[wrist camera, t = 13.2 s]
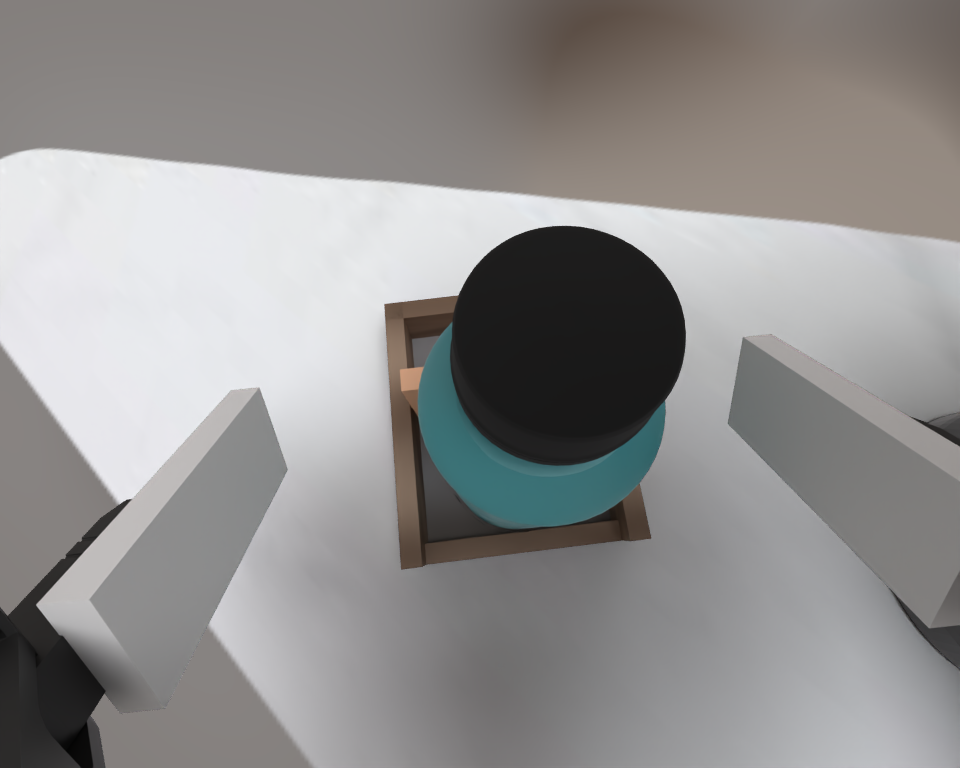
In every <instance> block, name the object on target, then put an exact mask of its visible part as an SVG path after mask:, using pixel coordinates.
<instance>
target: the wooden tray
mask: <svg viewBox="0 0 960 768" xmlns="http://www.w3.org/2000/svg"><path fill="white" fill-rule="evenodd" d="M457 299H458V296H450V297H442V298H433V299H425V300H416V301H407V302H399V303H390V304H384V305H385V321H386V336H387V352H388V368H389V384H390V400H391V416H392V431H393V447H394V463H395V479H396V495H397V511H398V526H399V542H400V558H401V569H409V568H417V567H423V566H425V565H427V564H435V563H443V562H451V561H459V560H467V559H475V558H483V557H491V556H500V555H508V554H516V553H524V552H532V551H540V550H548V549H556V548H564V547H572V546H580V545H589V544H597V543H605V542H613V541H621V540H624V541H636V540H644V539H651V535H650V530H649V526H648V521H647V516H646V512H645V507H644V502H643V498H642V493H641V488H640V484H638V485H637V486H636V487H635V488H634V489H633V490H632V492H631V493H630V494H629V495H628V496H626V497H625V498H624V499H623V500H621V501H620V502H619V503H618V504H616V505H615V506H613V507H612V508H610V509H608V510H607V511H605V512H603V513H601V514H599V515H597V516H594V517H592V518H590V519H587V520H584V521H580V522H578V523H574V524H573V525H572V524H570V525H563V526H554V527H546V528H545V527H536V528H537V529H536V528H524V529H507V528H501V527H497V526H494V525H492V524H489V523H488V522H486V521H484V520H482V519H481V518H479V517H478V516H477V515H476V514H474V513H473V512H472V511H471V510H470V508H469V507H468V506H467V505H466V504H465V502H464V501H463V500H462V499H461V498H460V496H459V495H458V494H457V492H456V491H455V490H454V489H453V488H452V487H451V486H450V485H449V484H448V482H447V481H446V480H445V479H444V477H443V476H442V475H441V474H440V472H439V471H438V469H437V467H436V466H435V464H434V463H433V461H432V459H431V457H430V455H429V453H428V450H427V448H426V446H425V443H424V440H423V437H422V433H421V430H420V424H419V418H418V416H417V414H416V413H415V411H414V410H413V408H412V407H411V405H410V404H409V402H408V401H407V399H406V398H405V396H404V394H403V393H402V391H401V379H400V369H409V368H417V367H424V365H425V362H426V359H427V357H428V355H429V353H430V352H431V350H432V348H433V346H434V344H435V343H436V341H437V340H438V338H439V337H440V335H441V334H442V333H443V332H444V330H445V329H446V328H447V327H448V326H449V325H450V324H451V323H452V319H453V314H454V309H455V305H456V302H457ZM453 493H454V494H453ZM456 494H457V495H456ZM455 495H456V496H457V497H458V499H459V500H460V502H461V503H462V504H461V503H459V501H458V499H457V498H456V496H455ZM463 507H464V508H463ZM473 516H474V517H473ZM475 517H476V518H477V519H476V518H475ZM478 520H480V521H478ZM481 522H482V523H484V524H482V523H481ZM485 523H486V525H485ZM488 526H489V527H488ZM564 527H565V528H564ZM493 528H494V529H493ZM496 529H497V530H496ZM500 530H501V531H500ZM505 530H506V531H505ZM508 530H509V531H508ZM512 531H514V532H512ZM526 531H529V532H526ZM541 531H542V532H541ZM546 531H547V532H546ZM516 532H517V533H516ZM518 532H520V533H518ZM535 532H536V533H535Z"/></svg>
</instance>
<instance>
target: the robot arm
mask: <svg viewBox="0 0 960 768" xmlns="http://www.w3.org/2000/svg"><path fill="white" fill-rule="evenodd" d="M728 424H729V425H730V426H731V427H732V428H733V429H734V430H735V431H736V432H737V433H738V434H739V435H740V436H741V437H742V439H743V440H744V441H745V442H746V443H747V444H748V445H749V446H750V447H751V448H752V449H753V450H754V451H755V452H756V453H757V454H758V455H759V456H760V457H761V458H762V459H763V460H764V461H765V462H766V463H767V464H768V465H769V466H770V467H771V468H772V469H773V470H774V471H775V472H776V473H777V474H778V475H779V476H780V477H781V478H782V479H783V480H784V481H785V482H786V483H787V484H788V485H789V486H790V487H791V488H792V489H793V490H794V491H795V492H796V493H797V495H798V496H799V497H800V498H801V499H802V500H803V501H804V502H805V503H806V504H807V505H808V506H809V507H810V508H811V509H812V510H813V511H814V512H815V513H816V514H817V515H818V516H819V517H820V518H821V519H822V520H823V521H824V522H825V523H826V524H827V525H828V526H829V527H830V528H831V529H832V530H833V531H834V532H835V533H836V534H837V535H838V536H839V537H840V538H841V539H842V540H843V541H844V542H845V543H846V544H847V545H848V546H849V547H850V548H851V549H852V551H853V552H854V553H855V554H856V555H857V556H858V557H859V558H860V559H861V560H862V561H863V562H864V563H865V564H866V565H867V566H868V567H869V568H870V569H871V570H872V571H873V572H874V573H875V574H876V575H877V576H878V577H879V578H880V579H881V580H882V581H883V582H884V583H885V584H886V585H887V586H888V587H889V588H890V589H891V590H892V591H893V592H894V593H895V594H896V596H897V597H898V599H899V601H900V603H901V604H902V606H903V608H904V609H905V611H906V612H907V614H908V615H909V617H910V618H911V619H912V621H913V622H914V623H915V625H916V626H917V627H918V629H919V630H920V631H921V632H922V633H923V635H924V636H925V637H926V638H927V639H928V640H929V641H930V642H931V643H932V644H933V646H934V647H935V648H936V649H937V650H938V651H940V652H941V653H942V654H943V655H944V656H945V657H946V658H947V659H948V660H949V661H951V662H952V663H953V664H954V665H955V666H957V667H958V668H959V669H960V413H956V414H952V415H948V416H944V417H941V418H938V419H935V420H933V421H930V422H928V423H926V422H923V421H920V420H918V419H915V418H912V417H910V416H907V415H906V414H904V413H902V412H901V411H899V410H897V409H896V408H894V407H892V406H891V405H889V404H887V403H886V402H884V401H882V400H881V399H879V398H877V397H876V396H874V395H872V394H871V393H869V392H867V391H866V390H864V389H862V388H860V387H859V386H857V385H855V384H854V383H852V382H850V381H849V380H847V379H845V378H844V377H842V376H840V375H839V374H837V373H835V372H834V371H832V370H830V369H829V368H827V367H825V366H824V365H822V364H820V363H819V362H817V361H815V360H814V359H812V358H810V357H809V356H807V355H805V354H804V353H802V352H800V351H799V350H797V349H795V348H793V347H792V346H790V345H788V344H787V343H785V342H783V341H782V340H780V339H778V338H777V337H775V336H773V335H772V334H769V335H759V336H749V337H743V340H742V346H741V352H740V357H739V363H738V369H737V375H736V380H735V386H734V392H733V397H732V403H731V409H730V414H729V420H728ZM287 470H288V469H287V466H286V463H285V460H284V457H283V454H282V451H281V449H280V446H279V443H278V440H277V437H276V434H275V431H274V428H273V425H272V423H271V420H270V417H269V414H268V411H267V408H266V405H265V402H264V399H263V397H262V394H261V391H260V388H249V389H240V390H231V391H230V392H229V393H228V394H227V395H226V397H225V398H224V399H223V400H222V401H221V402H220V403H219V404H218V405H217V406H216V408H215V409H214V410H213V411H212V412H211V413H210V414H209V415H208V416H207V417H206V419H205V420H204V421H203V422H202V423H201V424H200V425H199V426H198V427H197V428H196V430H195V431H194V432H193V433H192V434H191V435H190V436H189V437H188V438H187V439H186V441H185V442H184V443H183V444H182V445H181V446H180V447H179V448H178V449H177V450H176V452H175V453H174V454H173V455H172V456H171V457H170V458H169V459H168V460H167V461H166V463H165V464H164V465H163V466H162V467H161V468H160V469H159V470H158V471H157V472H156V474H155V475H154V476H153V477H152V478H151V479H150V480H149V481H148V482H147V483H146V485H145V486H144V487H143V488H142V489H141V490H140V491H139V492H138V493H137V494H136V496H135V497H134V498H133V499H129V500H126V501H124V502H123V503H121V504H120V505H118V506H117V507H116V508H114V509H113V510H111V511H110V512H108V513H107V514H106V515H104V516H103V517H101V518H100V519H99V520H98V521H97V522H96V523H95V524H94V526H93V527H92V528H91V529H90V530H89V531H88V532H87V533H86V534H85V535H84V536H83V537H82V541H81V542H77V543H76V545H75V546H74V547H73V548H72V549H71V550H70V551H69V552H68V553H67V554H66V558H65V559H61V560H60V562H58V564H57V565H56V566H55V567H54V568H53V569H52V570H51V571H50V572H49V573H48V574H47V575H46V576H45V577H44V578H43V579H42V580H41V582H40V583H39V584H38V585H37V586H36V587H35V588H34V589H33V590H32V591H31V592H30V593H29V594H28V595H27V596H26V598H24V599H23V600H22V602H21V603H20V604H19V605H18V606H17V607H16V608H15V609H14V610H13V611H12V612H11V613H10V614H9V615H8V616H7V615H6V614H5V613H4V611H3V610H2V609H1V608H0V768H105V762H104V756H103V750H102V744H101V738H100V732H99V728H98V726H97V724H96V723H95V721H94V719H93V718H92V717H91V716H90V715H91V714H92V712H93V710H94V709H95V707H96V706H97V704H98V703H99V701H100V699H101V698H102V696H103V695H104V693H105V694H106V696H107V697H108V698H109V700H110V701H111V702H112V704H113V705H114V706H115V707H116V709H117V710H118V711H119V713H130V712H140V711H150V710H159V709H165V708H166V706H167V704H168V702H169V700H170V698H171V696H172V694H173V692H174V690H175V688H176V687H177V685H178V683H179V681H180V679H181V677H182V675H183V673H184V671H185V669H186V667H187V665H188V663H189V661H190V659H191V657H192V655H193V653H194V651H195V649H196V648H197V645H198V643H199V642H200V640H201V638H202V636H203V634H204V632H205V630H206V628H207V626H208V624H209V622H210V620H211V618H212V616H213V614H214V612H215V611H216V609H217V607H218V605H219V603H220V601H221V599H222V597H223V595H224V593H225V591H226V589H227V587H228V585H229V583H230V581H231V579H232V577H233V575H234V573H235V571H236V570H237V568H238V566H239V564H240V562H241V560H242V558H243V556H244V554H245V552H246V550H247V548H248V546H249V544H250V542H251V540H252V538H253V536H254V534H255V532H256V531H257V529H258V527H259V525H260V523H261V521H262V519H263V517H264V515H265V513H266V511H267V509H268V507H269V505H270V503H271V501H272V499H273V497H274V495H275V493H276V491H277V490H278V488H279V486H280V484H281V482H282V480H283V478H284V476H285V474H286V472H287Z"/></svg>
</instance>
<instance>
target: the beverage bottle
mask: <svg viewBox="0 0 960 768" xmlns="http://www.w3.org/2000/svg"><path fill="white" fill-rule="evenodd" d="M685 342H686V330H685V320H684V315H683V311H682V307H681V304H680V302H679V299H678V296H677V294H676V292H675V290H674V288H673V286H672V285H671V283H670V281H669V280H668V279H667V277H666V276H665V275H664V273H663V272H662V271H661V270H660V268H659V267H658V266H657V265H656V264H655V263H654V262H653V261H652V260H651V259H650V258H649V257H647V256H646V255H645V254H644V253H643V252H641V251H640V250H638V249H637V248H635V247H634V246H633V245H631V244H629V243H627V242H625V241H624V240H622V239H620V238H617V237H615V236H613V235H610V234H608V233H605V232H601V231H598V230H594V229H590V228H584V227H576V226H552V227H544V228H538V229H534V230H530V231H526V232H524V233H521V234H519V235H516V236H514V237H512V238H510V239H508V240H506V241H504V242H503V243H501V244H500V245H498V246H497V247H495V248H494V249H493V250H491V251H490V252H489V253H488V254H487V255H486V256H485V257H484V258H483V259H482V260H481V261H480V262H479V263H478V264H477V265H476V267H475V268H474V269H473V271H472V272H471V274H470V275H469V277H468V278H467V280H466V281H465V283H464V285H463V287H462V289H461V291H460V293H459V296H458V299H457V302H456V305H455V309H454V314H453V319H452V323H451V324H450V325H449V326H448V327H447V328H446V329H445V330H444V332H443V333H442V334H441V335H440V337H439V338H438V340H437V341H436V343H435V344H434V346H433V348H432V350H431V352H430V353H429V355H428V357H427V359H426V362H425V365H424V368H423V371H422V374H421V379H420V383H419V390H418V418H419V424H420V430H421V433H422V437H423V440H424V443H425V446H426V448H427V450H428V453H429V455H430V457H431V459H432V461H433V463H434V464H435V466H436V467H437V469H438V471H439V472H440V474H441V475H442V476H443V477H444V479H445V480H446V481H447V482H448V484H449V485H450V486H451V487H452V488H453V489H454V490H455V491H456V492H457V494H458V495H459V496H460V498H461V499H462V500H463V501H464V502H465V504H466V505H467V506H468V507H469V508H470V510H471V511H472V512H473V513H474V514H476V515H477V516H478V517H479V518H481V519H482V520H484V521H486V522H488V523H489V524H492V525H494V526H497V527H501V528H507V529H524V528H536V527H545V528H546V527H554V526H563V525H570V524H572V525H573V524H574V523H578V522H580V521H584V520H587V519H590V518H592V517H594V516H597V515H599V514H601V513H603V512H605V511H607V510H608V509H610V508H612V507H613V506H615V505H616V504H618V503H619V502H620V501H621V500H623V499H624V498H625V497H626V496H628V495H629V494H630V493H631V492H632V490H633V489H634V488H635V487H636V486H637V485H638V484H639V483H640V482H641V480H642V479H643V477H644V476H645V475H646V473H647V472H648V470H649V469H650V467H651V465H652V463H653V461H654V459H655V457H656V455H657V452H658V449H659V447H660V444H661V440H662V435H663V431H664V424H665V412H666V410H665V399H666V398H667V397H668V395H669V394H670V392H671V391H672V389H673V387H674V385H675V383H676V381H677V379H678V376H679V373H680V370H681V367H682V364H683V358H684V353H685ZM453 494H454V493H453ZM457 494H456V495H457ZM456 495H455V496H456ZM456 498H457V499H458V497H457V496H456ZM458 501H459V503H461V502H460V500H459V499H458ZM461 504H462V503H461ZM463 508H464V507H463ZM473 517H474V516H473ZM475 518H476V517H475ZM476 519H477V518H476ZM478 521H480V520H478ZM481 523H482V522H481ZM482 524H484V523H482ZM485 525H486V523H485ZM488 527H489V526H488ZM564 528H565V527H564ZM493 529H494V528H493ZM536 529H537V528H536ZM496 530H497V529H496ZM500 531H501V530H500ZM505 531H506V530H505ZM508 531H509V530H508ZM512 532H514V531H512ZM526 532H529V531H526ZM541 532H542V531H541ZM546 532H547V531H546ZM516 533H517V532H516ZM518 533H520V532H518ZM535 533H536V532H535Z"/></svg>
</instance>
